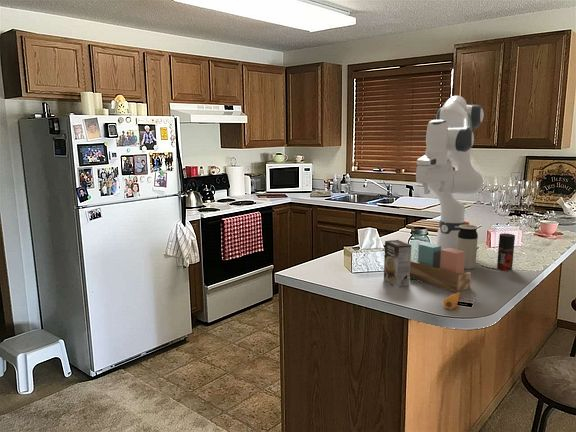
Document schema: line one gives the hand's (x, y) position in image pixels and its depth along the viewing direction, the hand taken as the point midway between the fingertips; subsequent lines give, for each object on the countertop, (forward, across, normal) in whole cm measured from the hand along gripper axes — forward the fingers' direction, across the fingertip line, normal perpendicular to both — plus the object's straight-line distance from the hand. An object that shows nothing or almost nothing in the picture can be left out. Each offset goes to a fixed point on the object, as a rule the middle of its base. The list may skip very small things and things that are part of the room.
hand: (434, 192), depth 196 cm
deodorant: (+33, -24, +20) cm, 46 cm away
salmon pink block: (+31, +12, +19) cm, 38 cm away
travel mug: (+33, -14, +8) cm, 37 cm away
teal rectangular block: (+31, +12, +9) cm, 34 cm away
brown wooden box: (+33, +13, +14) cm, 38 cm away
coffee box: (+33, +26, +4) cm, 42 cm away
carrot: (+33, +25, +30) cm, 51 cm away
